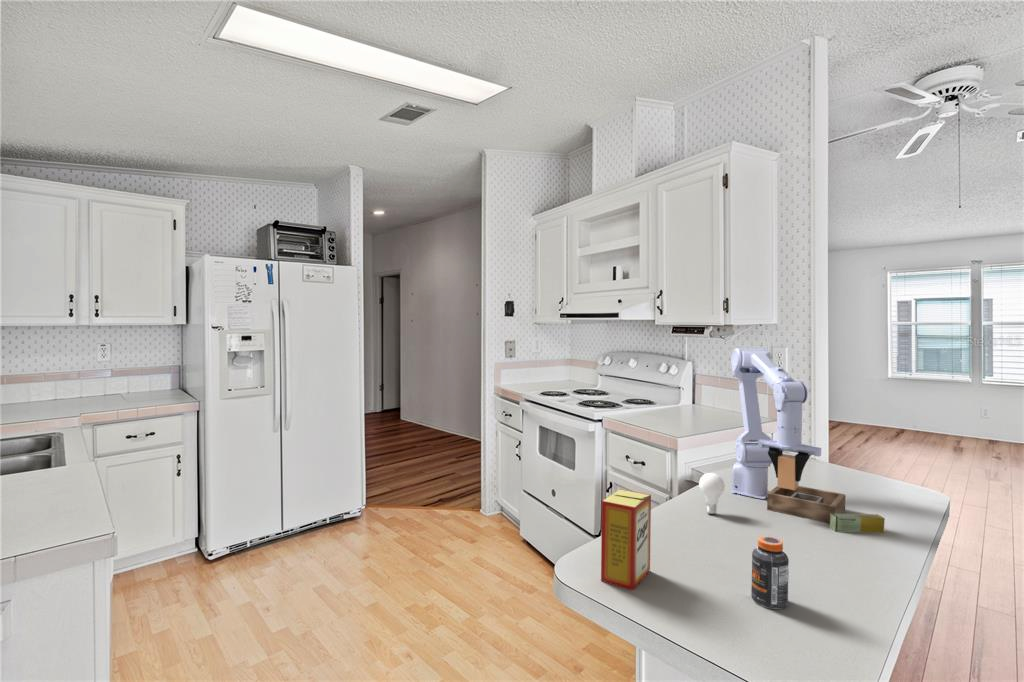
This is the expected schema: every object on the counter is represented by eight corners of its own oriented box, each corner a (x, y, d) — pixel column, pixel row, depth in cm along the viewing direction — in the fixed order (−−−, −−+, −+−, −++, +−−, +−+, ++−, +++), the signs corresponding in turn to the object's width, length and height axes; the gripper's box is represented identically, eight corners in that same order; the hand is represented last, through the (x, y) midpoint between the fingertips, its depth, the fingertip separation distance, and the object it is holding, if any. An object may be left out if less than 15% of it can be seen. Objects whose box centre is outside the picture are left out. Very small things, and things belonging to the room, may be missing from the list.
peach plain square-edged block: (777, 486, 136) (778, 456, 136) (781, 483, 139) (782, 453, 138) (794, 490, 133) (795, 459, 133) (798, 486, 136) (799, 456, 136)
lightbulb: (698, 516, 137) (698, 474, 137) (699, 508, 143) (699, 468, 143) (724, 519, 134) (724, 477, 134) (724, 511, 140) (724, 471, 140)
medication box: (834, 532, 127) (835, 516, 127) (828, 528, 130) (829, 512, 130) (884, 533, 127) (885, 517, 127) (877, 529, 129) (878, 513, 129)
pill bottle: (744, 593, 96) (745, 533, 96) (775, 592, 97) (776, 532, 97) (762, 611, 90) (764, 546, 90) (795, 609, 91) (796, 545, 91)
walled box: (767, 509, 142) (767, 493, 142) (781, 497, 153) (781, 482, 153) (834, 524, 132) (834, 507, 132) (845, 510, 142) (845, 494, 142)
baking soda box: (633, 590, 97) (634, 505, 97) (601, 581, 101) (601, 499, 101) (649, 571, 105) (650, 492, 105) (619, 563, 109) (620, 487, 108)
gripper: (755, 425, 138) (754, 476, 138) (817, 433, 128) (815, 488, 128) (763, 422, 143) (762, 471, 143) (823, 429, 133) (822, 482, 133)
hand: (788, 478), depth 136 cm, fingers closed on peach plain square-edged block, 4 cm apart
